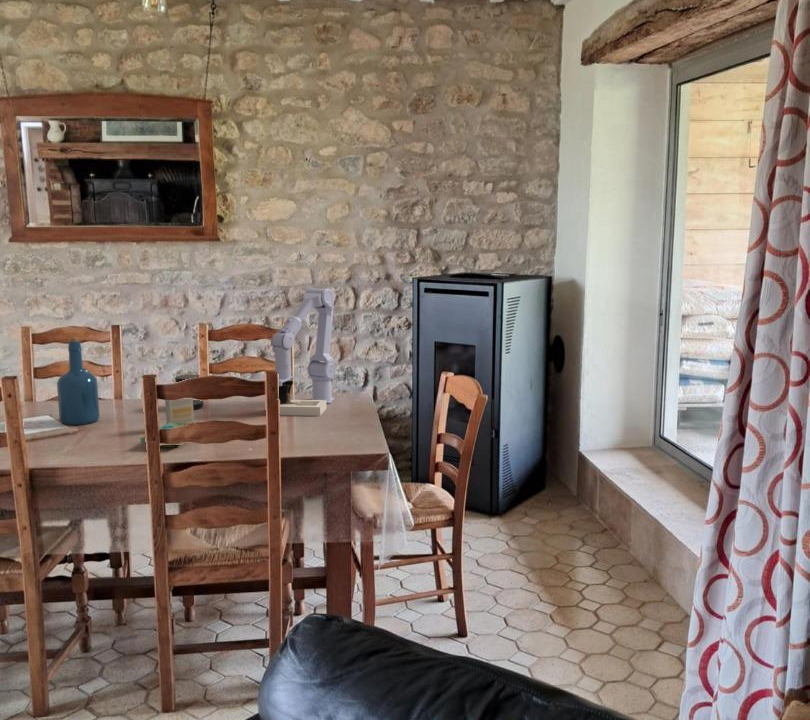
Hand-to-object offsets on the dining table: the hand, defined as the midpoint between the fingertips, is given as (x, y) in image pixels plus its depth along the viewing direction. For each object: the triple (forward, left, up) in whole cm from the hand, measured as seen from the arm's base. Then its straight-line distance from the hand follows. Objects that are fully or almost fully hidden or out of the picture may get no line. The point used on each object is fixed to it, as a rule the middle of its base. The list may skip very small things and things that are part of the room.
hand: (284, 401), depth 300 cm
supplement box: (+27, -30, -4) cm, 40 cm away
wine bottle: (+20, -69, -4) cm, 71 cm away
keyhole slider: (0, 0, -3) cm, 3 cm away
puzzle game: (+44, -25, -4) cm, 51 cm away
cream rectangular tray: (0, +4, -4) cm, 6 cm away
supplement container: (-4, -38, -4) cm, 38 cm away
